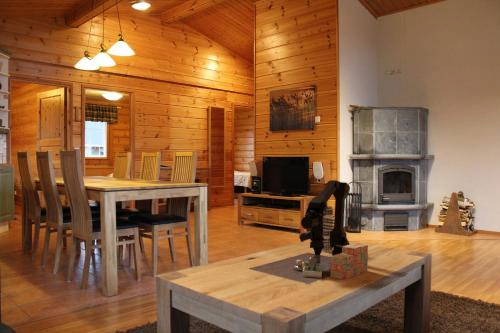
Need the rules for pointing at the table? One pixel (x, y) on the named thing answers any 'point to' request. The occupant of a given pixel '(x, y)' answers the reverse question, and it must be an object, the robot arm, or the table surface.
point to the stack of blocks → (349, 261)
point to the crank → (299, 262)
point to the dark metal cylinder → (312, 263)
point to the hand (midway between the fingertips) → (316, 259)
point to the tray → (312, 272)
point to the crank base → (299, 267)
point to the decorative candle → (328, 228)
